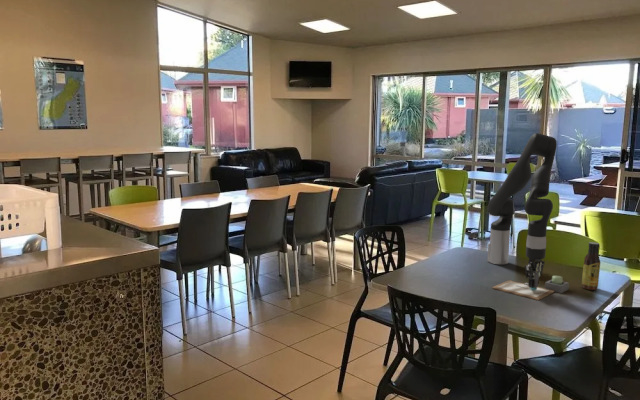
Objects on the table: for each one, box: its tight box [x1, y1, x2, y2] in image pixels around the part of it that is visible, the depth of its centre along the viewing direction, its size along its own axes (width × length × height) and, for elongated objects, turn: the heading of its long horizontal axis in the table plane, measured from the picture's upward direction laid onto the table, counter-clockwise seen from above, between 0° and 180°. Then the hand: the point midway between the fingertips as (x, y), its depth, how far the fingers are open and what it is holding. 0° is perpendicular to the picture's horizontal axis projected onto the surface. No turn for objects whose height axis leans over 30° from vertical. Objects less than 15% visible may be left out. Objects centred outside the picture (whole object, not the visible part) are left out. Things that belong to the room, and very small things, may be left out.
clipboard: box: [491, 279, 555, 301], centre depth 218 cm, size 20×15×1 cm
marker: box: [530, 269, 539, 290], centre depth 216 cm, size 3×3×9 cm
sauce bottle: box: [581, 241, 601, 291], centre depth 220 cm, size 6×6×20 cm
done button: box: [551, 275, 564, 285], centre depth 219 cm, size 4×4×4 cm
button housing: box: [544, 278, 570, 294], centre depth 220 cm, size 7×7×3 cm
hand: (533, 286), depth 216 cm, fingers closed on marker, 3 cm apart
